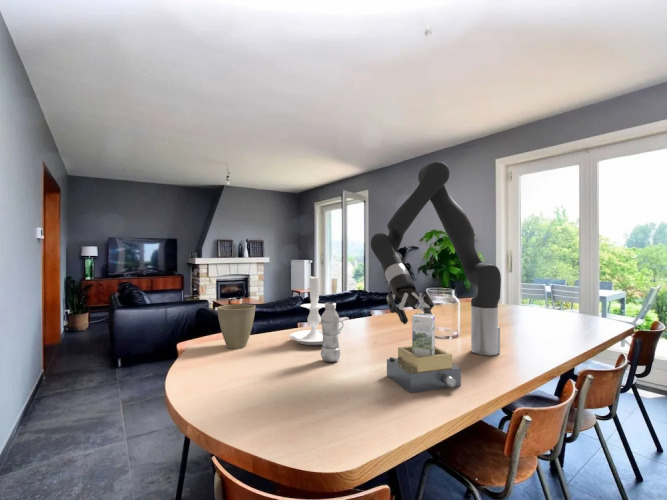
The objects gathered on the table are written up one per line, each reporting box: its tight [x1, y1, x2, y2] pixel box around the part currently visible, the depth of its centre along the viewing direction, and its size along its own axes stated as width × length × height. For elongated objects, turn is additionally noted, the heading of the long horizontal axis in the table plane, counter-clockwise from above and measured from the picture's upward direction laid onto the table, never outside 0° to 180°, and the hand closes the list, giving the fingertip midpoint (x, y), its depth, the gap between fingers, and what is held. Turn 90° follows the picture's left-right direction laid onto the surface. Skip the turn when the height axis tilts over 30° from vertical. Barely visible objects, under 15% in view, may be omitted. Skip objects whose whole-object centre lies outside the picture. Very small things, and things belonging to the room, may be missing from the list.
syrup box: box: [411, 312, 436, 357], centre depth 102 cm, size 6×6×14 cm
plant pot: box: [216, 303, 256, 350], centre depth 141 cm, size 15×15×16 cm
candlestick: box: [289, 275, 345, 346], centre depth 147 cm, size 21×25×28 cm
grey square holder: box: [386, 345, 462, 394], centre depth 102 cm, size 16×17×9 cm
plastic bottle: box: [320, 302, 341, 363], centre depth 122 cm, size 6×7×20 cm
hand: (418, 321), depth 105 cm, fingers open, 8 cm apart
